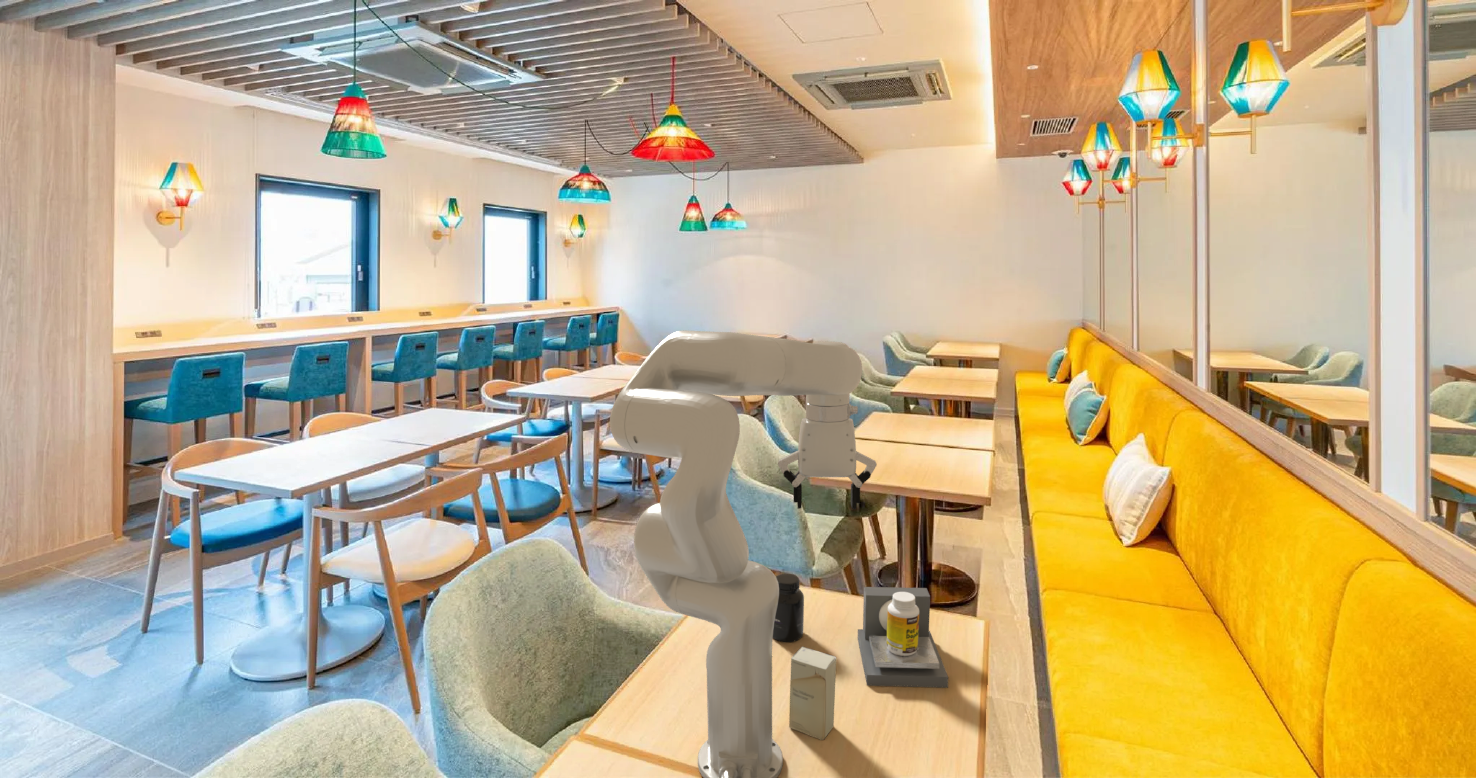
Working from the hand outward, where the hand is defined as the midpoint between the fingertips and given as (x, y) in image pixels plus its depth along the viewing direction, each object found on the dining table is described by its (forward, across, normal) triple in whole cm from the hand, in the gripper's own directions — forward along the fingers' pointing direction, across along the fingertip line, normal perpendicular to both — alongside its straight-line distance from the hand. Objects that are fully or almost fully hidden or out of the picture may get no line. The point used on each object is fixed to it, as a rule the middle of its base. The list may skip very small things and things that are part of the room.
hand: (826, 506), depth 127 cm
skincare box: (+31, +3, +19) cm, 36 cm away
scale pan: (+28, -14, +2) cm, 31 cm away
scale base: (+30, -14, -1) cm, 33 cm away
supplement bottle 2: (+26, -14, +2) cm, 30 cm away
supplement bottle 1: (+31, +7, -10) cm, 33 cm away
